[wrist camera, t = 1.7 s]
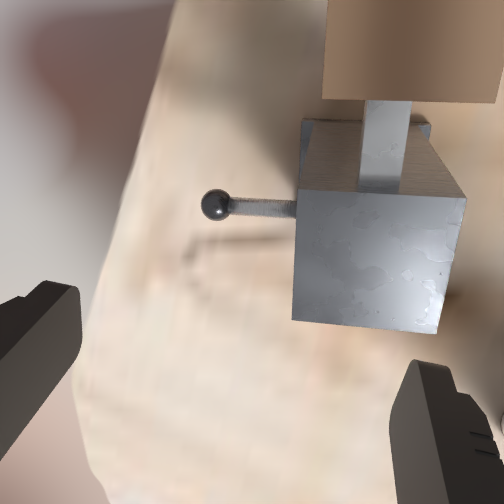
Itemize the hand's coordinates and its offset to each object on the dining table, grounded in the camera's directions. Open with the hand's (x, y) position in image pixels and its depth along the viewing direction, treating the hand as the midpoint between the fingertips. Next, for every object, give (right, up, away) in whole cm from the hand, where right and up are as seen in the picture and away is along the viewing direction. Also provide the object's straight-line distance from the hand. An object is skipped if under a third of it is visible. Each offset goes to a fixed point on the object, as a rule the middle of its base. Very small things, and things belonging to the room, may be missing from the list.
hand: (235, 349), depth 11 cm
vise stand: (+6, +15, +26) cm, 30 cm away
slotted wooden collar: (+8, +16, +16) cm, 24 cm away
